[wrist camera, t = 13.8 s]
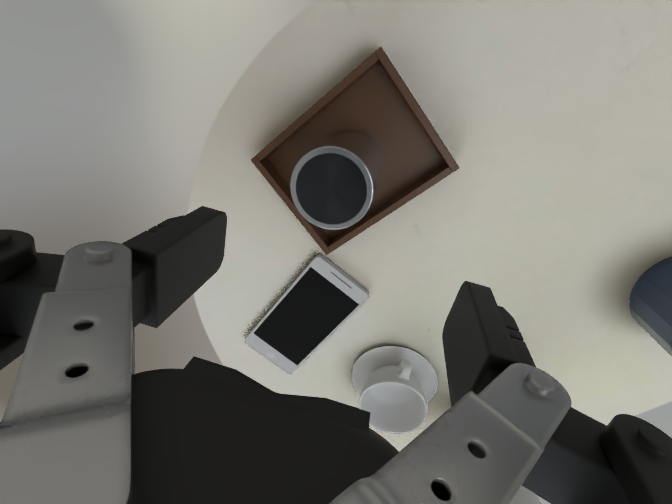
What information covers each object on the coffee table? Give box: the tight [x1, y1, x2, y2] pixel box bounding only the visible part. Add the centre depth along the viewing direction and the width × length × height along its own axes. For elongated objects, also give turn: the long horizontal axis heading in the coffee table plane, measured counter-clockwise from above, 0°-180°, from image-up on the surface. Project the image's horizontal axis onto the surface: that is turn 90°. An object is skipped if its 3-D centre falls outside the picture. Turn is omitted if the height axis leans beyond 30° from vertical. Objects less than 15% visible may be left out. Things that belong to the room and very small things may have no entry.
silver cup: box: [290, 130, 383, 230], centre depth 28 cm, size 5×5×11 cm
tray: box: [251, 47, 459, 255], centre depth 32 cm, size 14×11×3 cm
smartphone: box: [245, 254, 369, 374], centre depth 41 cm, size 7×16×1 cm, turn 142°
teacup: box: [352, 346, 437, 434], centre depth 41 cm, size 10×10×5 cm
